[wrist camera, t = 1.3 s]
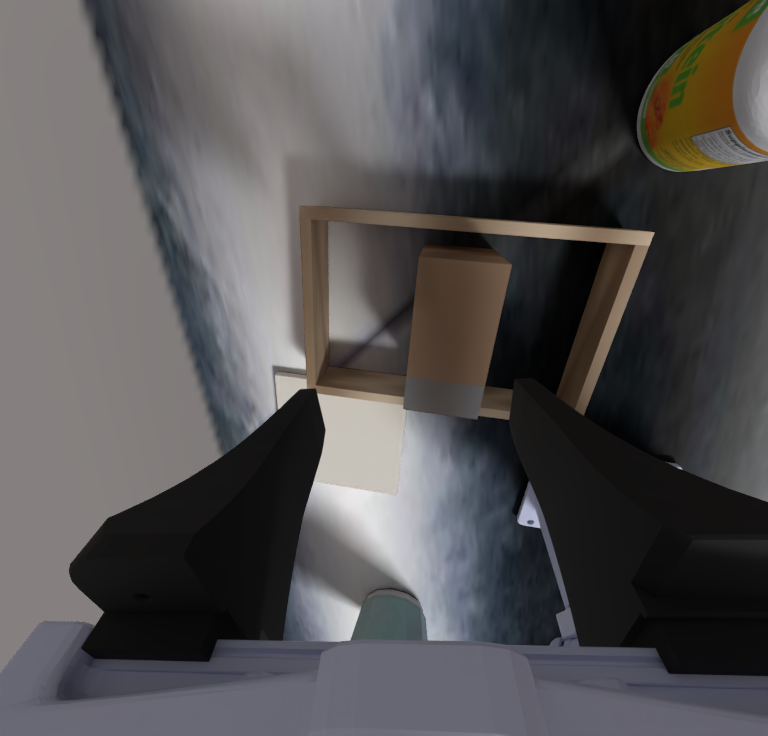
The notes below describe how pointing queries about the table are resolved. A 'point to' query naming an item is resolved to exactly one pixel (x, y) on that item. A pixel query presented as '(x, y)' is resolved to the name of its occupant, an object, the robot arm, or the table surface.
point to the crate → (611, 276)
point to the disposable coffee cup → (390, 617)
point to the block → (454, 328)
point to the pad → (354, 438)
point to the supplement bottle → (711, 97)
